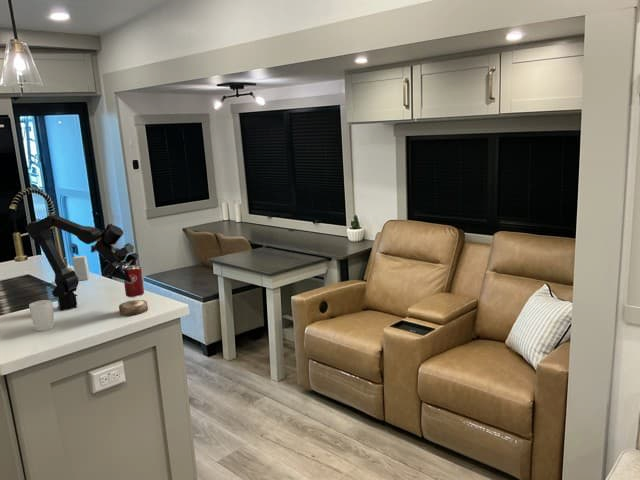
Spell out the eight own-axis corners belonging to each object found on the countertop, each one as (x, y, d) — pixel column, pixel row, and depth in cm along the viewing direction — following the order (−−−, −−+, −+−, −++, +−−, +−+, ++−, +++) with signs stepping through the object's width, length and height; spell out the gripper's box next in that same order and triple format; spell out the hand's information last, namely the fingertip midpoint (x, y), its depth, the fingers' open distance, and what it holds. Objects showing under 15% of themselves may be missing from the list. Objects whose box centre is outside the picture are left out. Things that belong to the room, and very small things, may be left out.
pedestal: (125, 317, 209) (124, 310, 209) (116, 311, 218) (115, 304, 217) (152, 310, 216) (151, 303, 215) (142, 304, 225) (141, 297, 224)
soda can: (135, 298, 214) (131, 270, 211) (121, 296, 217) (118, 268, 214) (148, 293, 220) (144, 265, 217) (134, 291, 223) (131, 264, 220)
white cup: (38, 325, 207) (34, 300, 205) (59, 323, 208) (55, 299, 206) (29, 332, 199) (25, 307, 197) (51, 330, 200) (46, 305, 198)
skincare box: (90, 277, 274) (86, 255, 272) (88, 280, 270) (84, 257, 267) (77, 278, 273) (74, 256, 271) (75, 281, 269) (71, 258, 266)
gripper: (105, 243, 205) (134, 271, 205) (131, 233, 223) (158, 259, 223) (90, 263, 208) (118, 290, 208) (117, 251, 226) (143, 277, 226)
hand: (136, 278), depth 216 cm, fingers closed on soda can, 7 cm apart
